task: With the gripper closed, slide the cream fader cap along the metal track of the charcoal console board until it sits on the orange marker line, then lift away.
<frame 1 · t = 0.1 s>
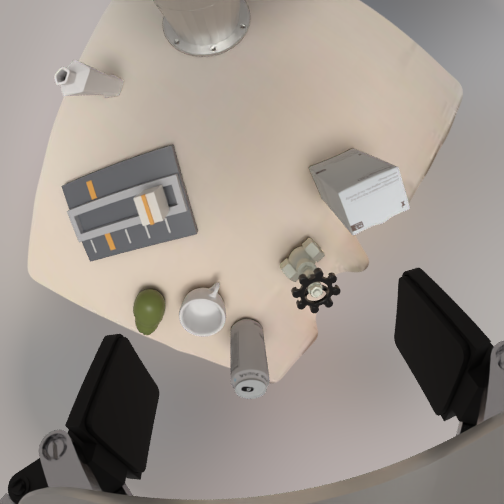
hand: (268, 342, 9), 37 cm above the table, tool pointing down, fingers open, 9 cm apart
fader: (153, 203, 39), point 5 cm above the table, slide at 6.0 cm
pear: (151, 306, 52), on the table
console: (127, 205, 44), on the table
teacup: (207, 295, 52), on the table
perfume bottle: (113, 87, 36), on the table
valve: (299, 253, 49), on the table
skincare box: (336, 174, 44), on the table
energy drink can: (246, 328, 55), on the table
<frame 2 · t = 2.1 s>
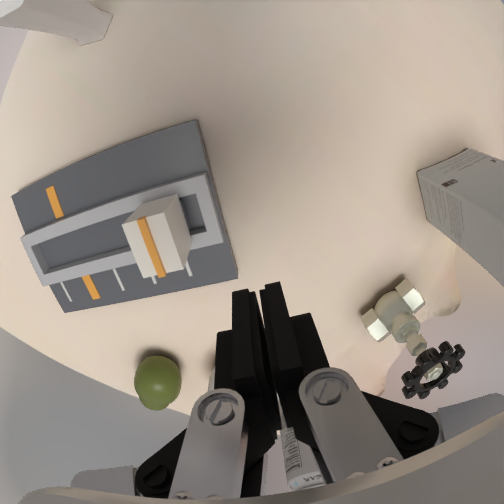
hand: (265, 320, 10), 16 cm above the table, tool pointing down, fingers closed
fader: (161, 231, 21), point 5 cm above the table, slide at 6.0 cm
pear: (159, 372, 34), on the table
console: (115, 227, 25), on the table
perfume bottle: (94, 28, 17), on the table
valve: (385, 299, 31), on the table
skincare box: (446, 185, 25), on the table
energy drink can: (297, 393, 37), on the table
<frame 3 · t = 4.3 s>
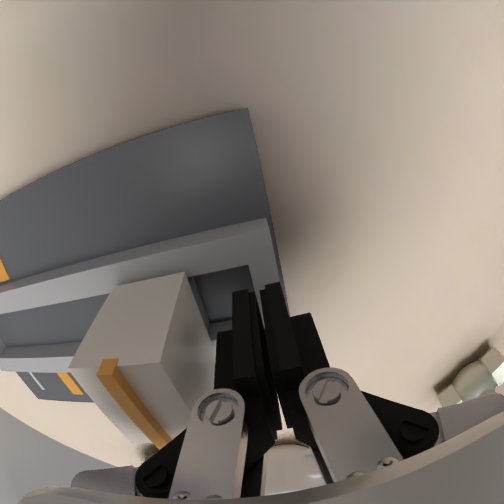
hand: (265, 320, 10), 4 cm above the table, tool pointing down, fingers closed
fader: (157, 352, 10), point 5 cm above the table, slide at 5.0 cm, touching gripper
console: (94, 300, 14), on the table
teacup: (287, 447, 22), on the table
valve: (462, 368, 20), on the table
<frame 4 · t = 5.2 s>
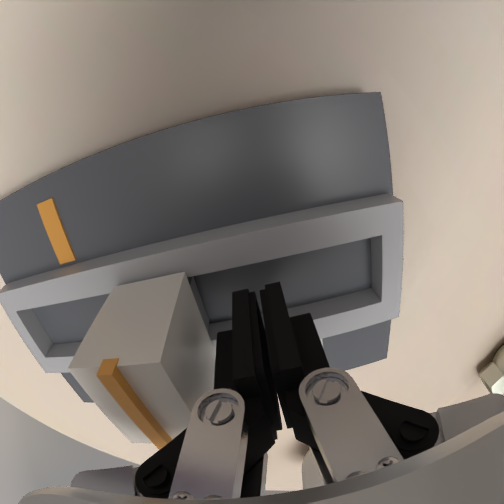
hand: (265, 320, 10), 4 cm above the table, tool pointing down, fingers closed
fader: (157, 352, 10), point 5 cm above the table, slide at -0.2 cm, touching gripper
console: (181, 283, 14), on the table
teacup: (344, 434, 22), on the table
valve: (499, 348, 20), on the table
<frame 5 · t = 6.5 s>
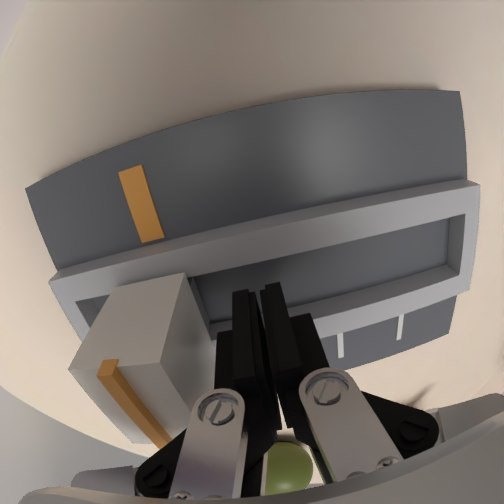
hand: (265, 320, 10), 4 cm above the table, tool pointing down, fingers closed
fader: (157, 352, 10), point 5 cm above the table, slide at -4.7 cm, touching gripper
pear: (267, 454, 23), on the table
console: (273, 263, 14), on the table
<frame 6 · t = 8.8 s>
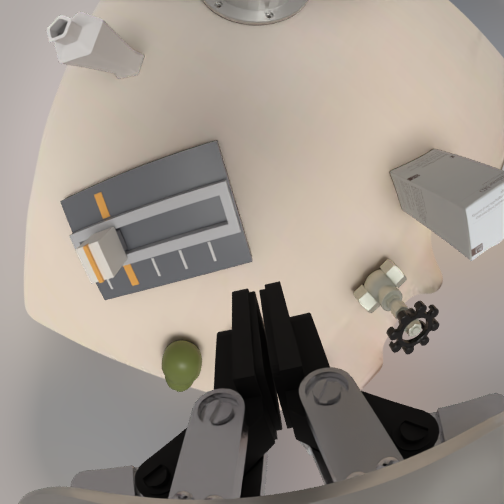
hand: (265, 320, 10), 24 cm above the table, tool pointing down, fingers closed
fader: (103, 252, 29), point 5 cm above the table, slide at -4.8 cm
pear: (182, 357, 42), on the table
console: (152, 225, 33), on the table
perfume bottle: (129, 64, 26), on the table
valve: (373, 278, 38), on the table
skincare box: (417, 180, 33), on the table
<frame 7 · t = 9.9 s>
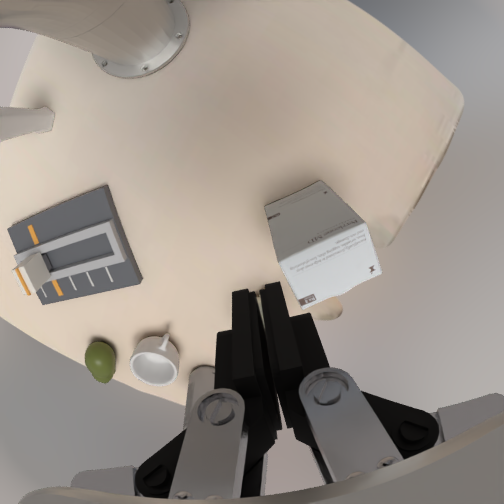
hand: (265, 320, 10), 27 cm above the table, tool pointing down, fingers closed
fader: (32, 272, 33), point 5 cm above the table, slide at -4.8 cm
pear: (105, 355, 46), on the table
console: (69, 250, 37), on the table
teacup: (161, 342, 45), on the table
perfume bottle: (46, 121, 30), on the table
skincare box: (300, 213, 37), on the table
energy drink can: (207, 374, 49), on the table
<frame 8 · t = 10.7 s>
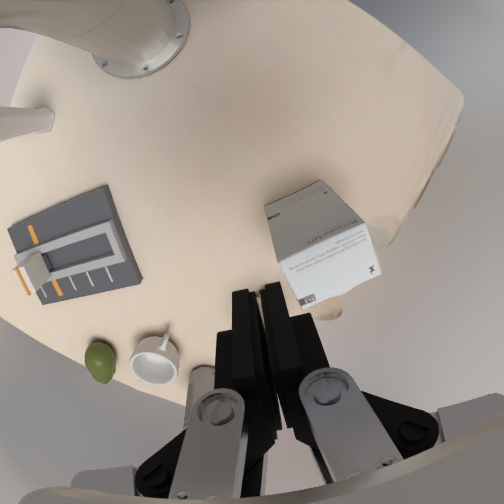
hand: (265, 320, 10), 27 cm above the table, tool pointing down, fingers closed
fader: (32, 272, 33), point 5 cm above the table, slide at -4.8 cm
pear: (105, 355, 46), on the table
console: (69, 250, 37), on the table
teacup: (161, 342, 45), on the table
perfume bottle: (46, 121, 30), on the table
skincare box: (299, 213, 37), on the table
energy drink can: (206, 374, 49), on the table
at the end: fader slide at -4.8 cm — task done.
